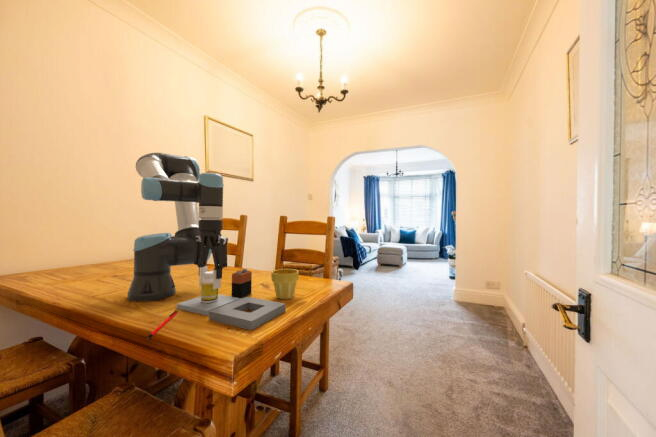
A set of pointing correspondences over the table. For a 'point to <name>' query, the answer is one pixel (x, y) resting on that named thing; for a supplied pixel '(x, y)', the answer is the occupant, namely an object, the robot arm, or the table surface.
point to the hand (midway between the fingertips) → (210, 286)
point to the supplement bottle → (208, 288)
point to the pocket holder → (240, 318)
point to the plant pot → (285, 282)
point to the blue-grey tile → (205, 304)
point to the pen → (162, 324)
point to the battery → (241, 283)
